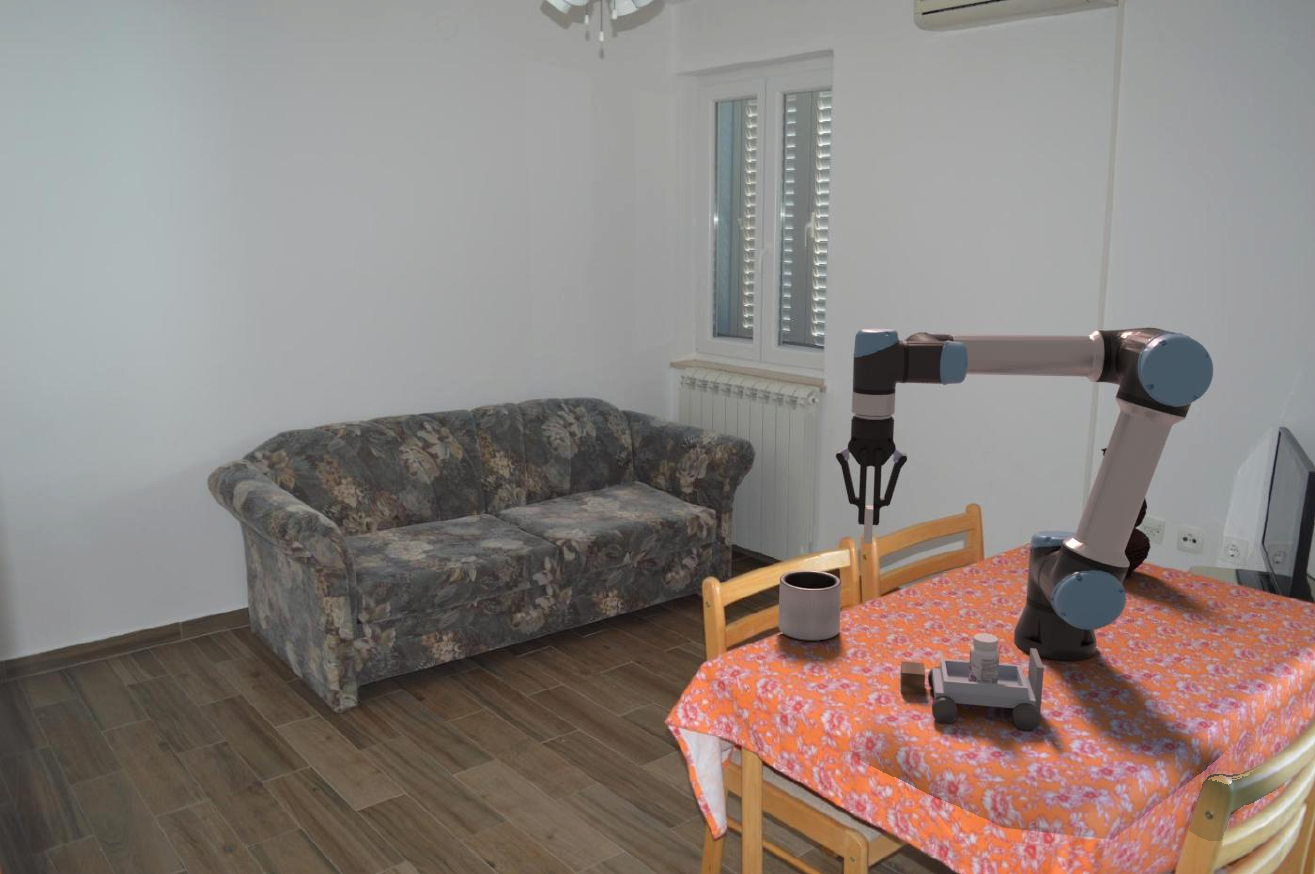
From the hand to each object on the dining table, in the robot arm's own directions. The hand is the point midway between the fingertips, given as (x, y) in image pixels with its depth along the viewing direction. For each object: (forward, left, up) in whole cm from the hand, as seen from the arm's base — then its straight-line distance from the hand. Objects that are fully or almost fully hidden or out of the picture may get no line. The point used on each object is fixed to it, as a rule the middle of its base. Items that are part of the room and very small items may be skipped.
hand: (867, 541), depth 187 cm
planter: (+11, -15, -25) cm, 31 cm away
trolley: (-20, +14, -24) cm, 35 cm away
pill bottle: (-20, +14, -20) cm, 32 cm away
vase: (-58, -66, -25) cm, 91 cm away
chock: (-9, +8, -25) cm, 27 cm away
